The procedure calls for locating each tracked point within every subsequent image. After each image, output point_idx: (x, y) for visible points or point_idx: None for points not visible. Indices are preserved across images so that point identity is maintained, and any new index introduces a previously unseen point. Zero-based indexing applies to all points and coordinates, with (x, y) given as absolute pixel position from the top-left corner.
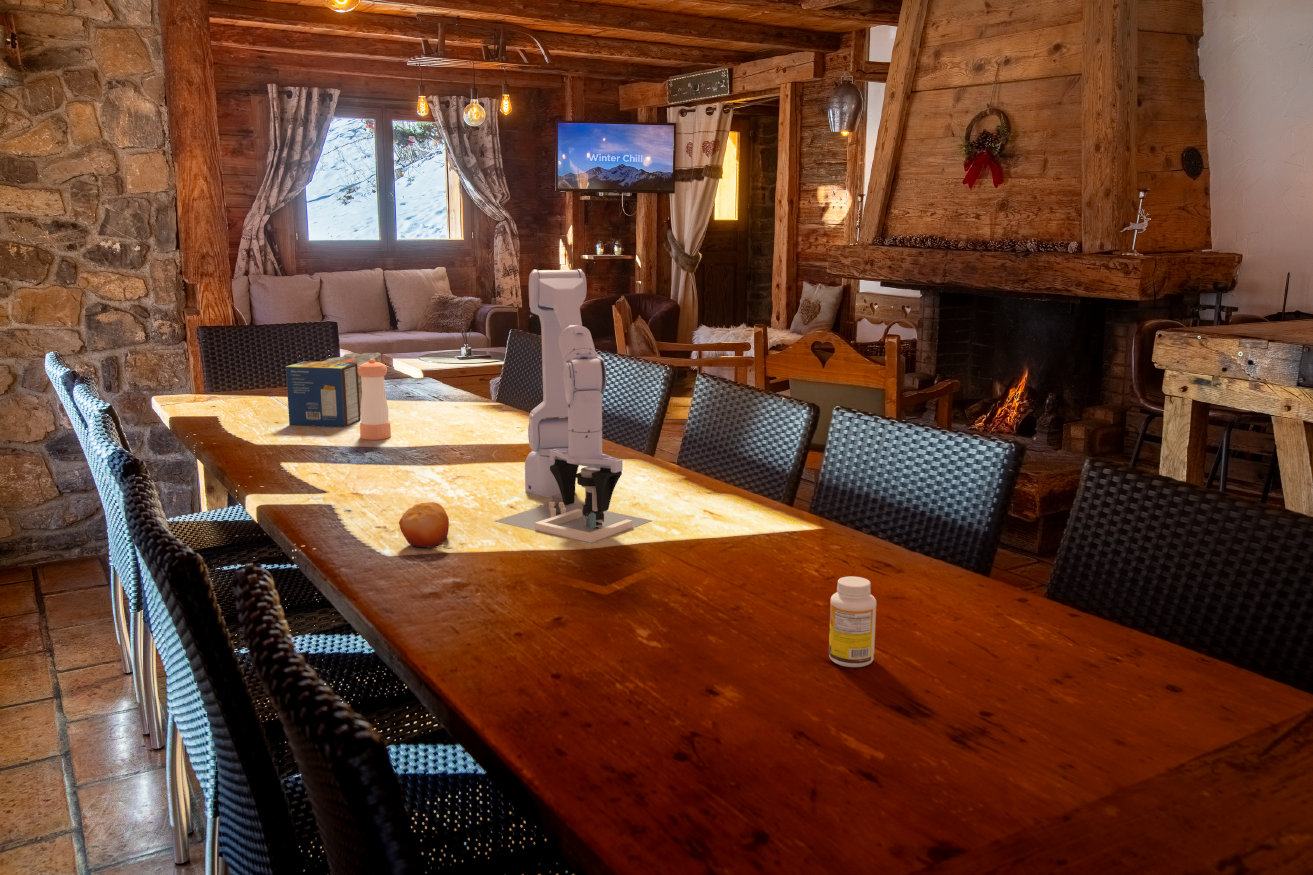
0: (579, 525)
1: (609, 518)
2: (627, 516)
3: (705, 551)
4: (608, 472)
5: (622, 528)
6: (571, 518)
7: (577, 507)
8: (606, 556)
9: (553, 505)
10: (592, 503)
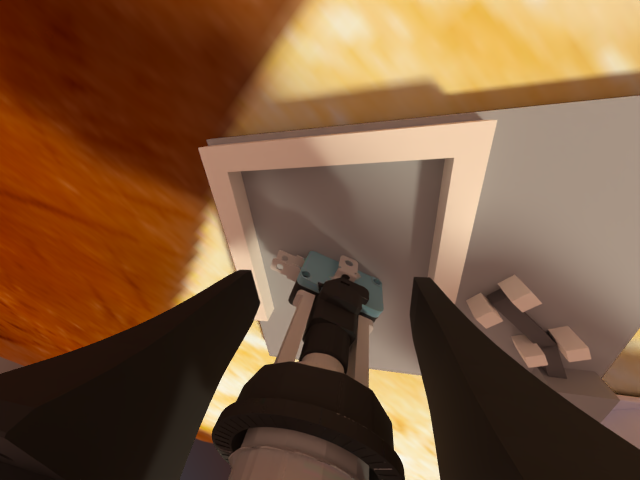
0: (368, 255)
1: None
2: None
3: (102, 277)
4: (3, 463)
5: None
6: None
7: None
8: (144, 118)
9: (561, 343)
10: (307, 313)
